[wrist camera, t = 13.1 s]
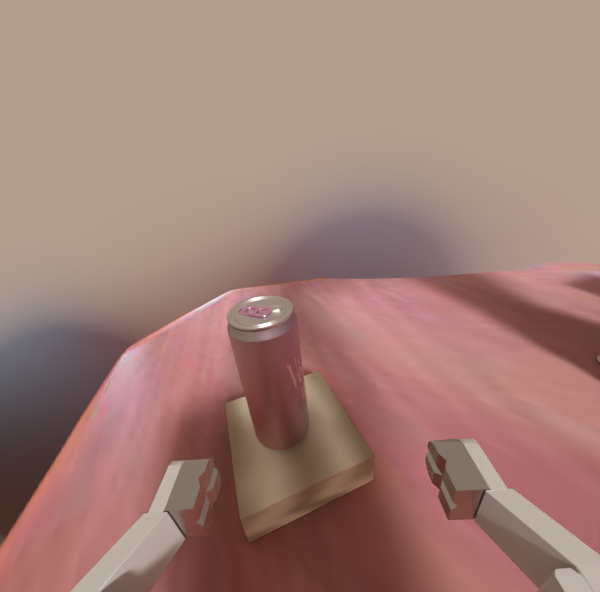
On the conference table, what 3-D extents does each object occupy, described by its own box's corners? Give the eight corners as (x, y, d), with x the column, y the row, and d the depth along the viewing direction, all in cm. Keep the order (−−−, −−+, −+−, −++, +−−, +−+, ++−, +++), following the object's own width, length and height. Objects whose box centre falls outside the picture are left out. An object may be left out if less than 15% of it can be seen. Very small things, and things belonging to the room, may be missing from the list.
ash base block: (320, 391, 38) (318, 370, 36) (373, 479, 26) (374, 455, 25) (231, 424, 34) (224, 403, 32) (248, 543, 23) (239, 519, 21)
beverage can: (271, 400, 32) (248, 292, 25) (316, 411, 30) (304, 296, 23) (245, 444, 27) (209, 324, 20) (298, 462, 25) (276, 333, 18)
